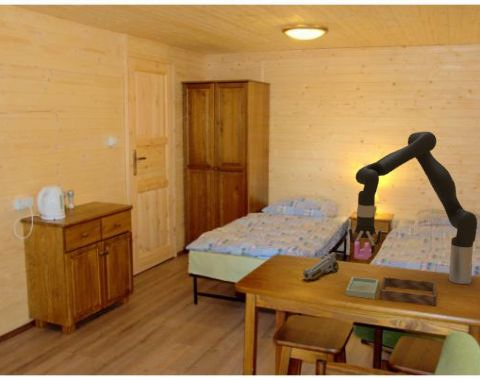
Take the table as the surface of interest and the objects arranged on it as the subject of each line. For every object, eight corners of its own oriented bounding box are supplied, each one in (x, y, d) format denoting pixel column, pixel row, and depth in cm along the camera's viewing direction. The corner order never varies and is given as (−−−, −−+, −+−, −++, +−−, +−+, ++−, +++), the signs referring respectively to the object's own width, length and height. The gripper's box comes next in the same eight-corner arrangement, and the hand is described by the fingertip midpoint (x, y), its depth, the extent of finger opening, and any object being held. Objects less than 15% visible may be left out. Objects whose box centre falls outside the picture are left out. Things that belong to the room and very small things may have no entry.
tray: (378, 284, 234) (378, 279, 233) (374, 298, 216) (374, 293, 216) (351, 281, 238) (352, 276, 237) (345, 295, 220) (346, 289, 220)
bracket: (367, 259, 218) (367, 243, 217) (354, 258, 220) (354, 242, 219) (374, 252, 229) (374, 237, 228) (361, 250, 232) (362, 235, 231)
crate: (434, 291, 226) (435, 282, 225) (435, 306, 208) (436, 296, 208) (383, 285, 233) (383, 276, 233) (379, 299, 215) (380, 290, 215)
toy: (339, 270, 254) (338, 251, 251) (312, 291, 238) (310, 271, 235) (330, 268, 258) (328, 249, 255) (303, 288, 242) (301, 269, 239)
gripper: (383, 214, 223) (382, 251, 226) (350, 212, 228) (348, 249, 230) (382, 217, 216) (380, 256, 219) (347, 215, 221) (346, 253, 223)
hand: (364, 252), depth 225 cm, fingers closed on bracket, 6 cm apart
